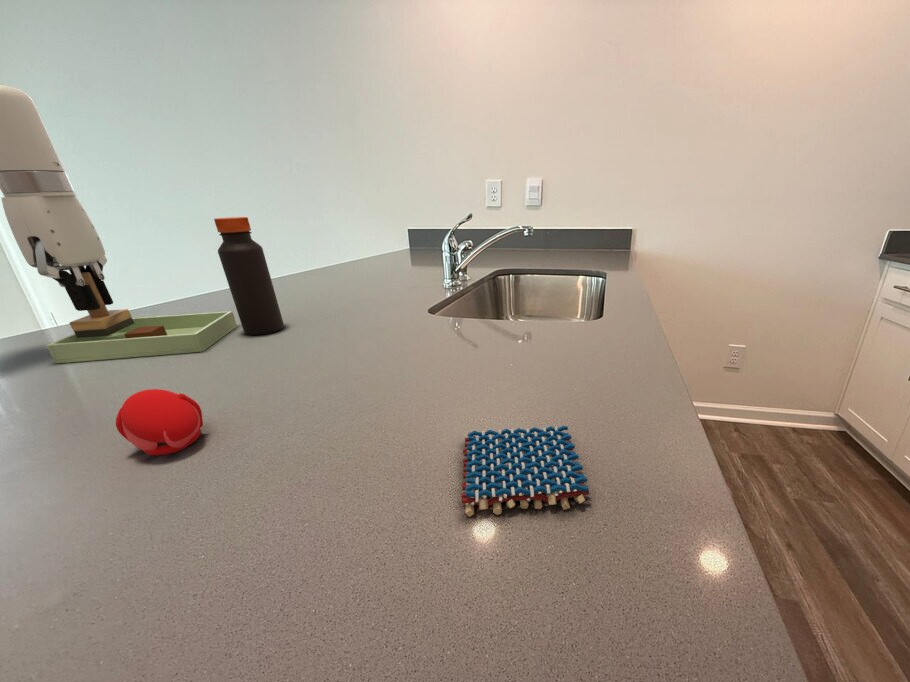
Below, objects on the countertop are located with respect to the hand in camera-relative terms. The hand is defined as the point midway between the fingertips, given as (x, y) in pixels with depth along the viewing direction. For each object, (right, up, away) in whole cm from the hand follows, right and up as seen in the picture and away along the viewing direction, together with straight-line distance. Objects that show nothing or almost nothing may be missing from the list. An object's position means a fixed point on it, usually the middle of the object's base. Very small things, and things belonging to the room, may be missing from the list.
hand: (95, 306), depth 68 cm
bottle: (+23, -3, +10) cm, 25 cm away
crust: (+6, -5, +4) cm, 9 cm away
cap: (+34, -20, -25) cm, 47 cm away
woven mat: (+71, -21, -31) cm, 80 cm away
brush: (0, -4, +2) cm, 4 cm away
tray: (+7, -6, +4) cm, 10 cm away
